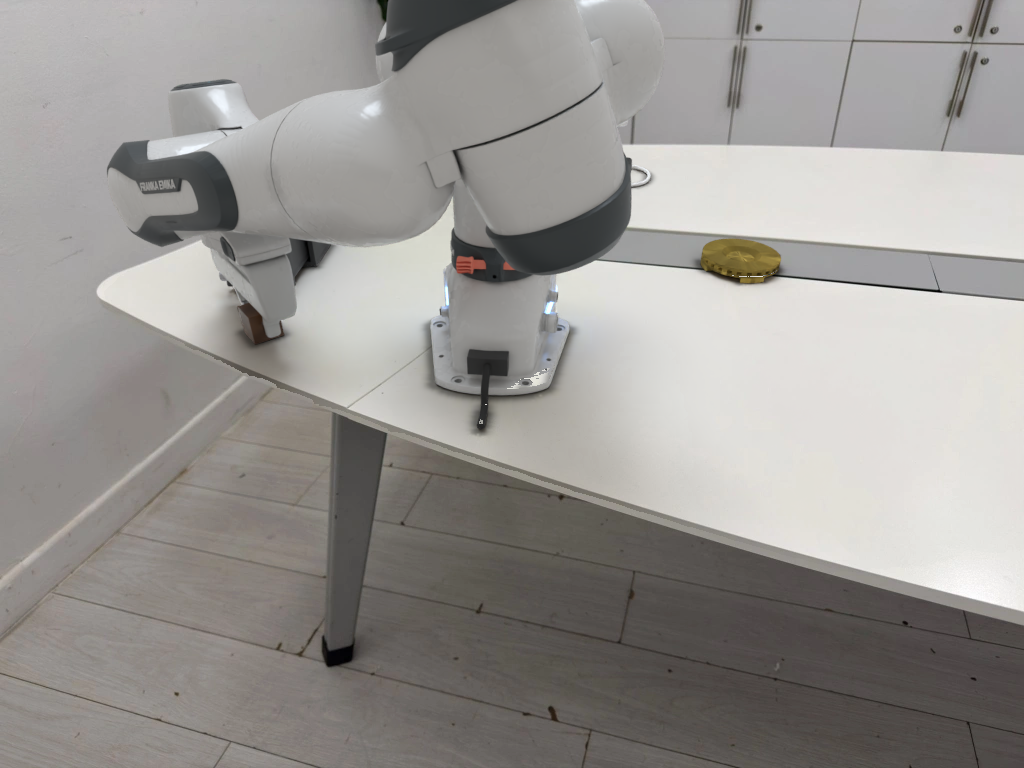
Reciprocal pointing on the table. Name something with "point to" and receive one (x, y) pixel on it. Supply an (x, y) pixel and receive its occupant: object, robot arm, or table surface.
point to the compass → (740, 259)
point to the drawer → (291, 257)
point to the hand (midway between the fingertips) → (261, 322)
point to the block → (254, 324)
